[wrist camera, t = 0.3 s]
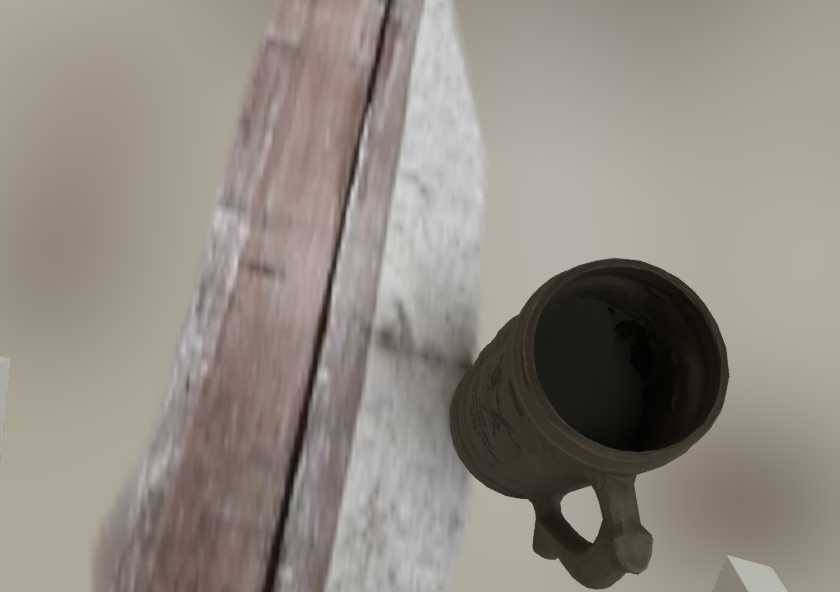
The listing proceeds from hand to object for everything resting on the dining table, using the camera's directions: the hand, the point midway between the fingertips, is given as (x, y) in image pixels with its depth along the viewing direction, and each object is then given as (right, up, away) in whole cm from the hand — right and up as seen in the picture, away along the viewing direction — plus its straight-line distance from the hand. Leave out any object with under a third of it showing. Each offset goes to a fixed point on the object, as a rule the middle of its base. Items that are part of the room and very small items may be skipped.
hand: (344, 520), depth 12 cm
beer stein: (+9, -7, +36) cm, 38 cm away
